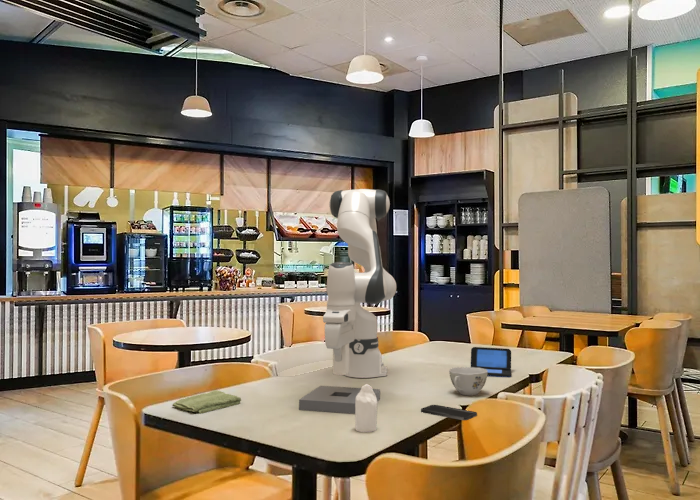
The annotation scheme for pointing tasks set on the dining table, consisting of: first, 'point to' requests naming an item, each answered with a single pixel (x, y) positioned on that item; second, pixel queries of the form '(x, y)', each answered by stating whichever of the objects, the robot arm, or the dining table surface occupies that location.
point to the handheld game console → (492, 360)
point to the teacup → (468, 379)
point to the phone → (449, 412)
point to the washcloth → (207, 402)
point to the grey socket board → (332, 399)
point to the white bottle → (366, 410)
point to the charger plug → (342, 361)
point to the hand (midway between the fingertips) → (341, 359)
